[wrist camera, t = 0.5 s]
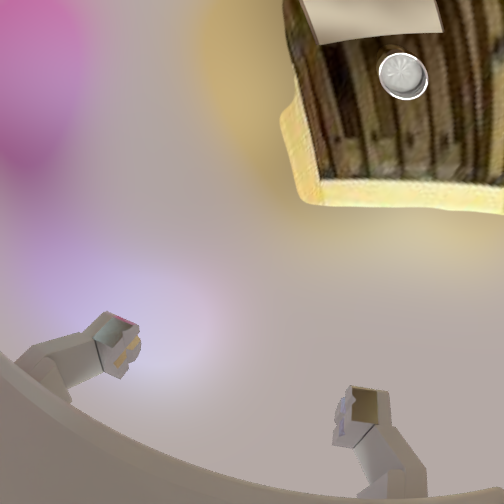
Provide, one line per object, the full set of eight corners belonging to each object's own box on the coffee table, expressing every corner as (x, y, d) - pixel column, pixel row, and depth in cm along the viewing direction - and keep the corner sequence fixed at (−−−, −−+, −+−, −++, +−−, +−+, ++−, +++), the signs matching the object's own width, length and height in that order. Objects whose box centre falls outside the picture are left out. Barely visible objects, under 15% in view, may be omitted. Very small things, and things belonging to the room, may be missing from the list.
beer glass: (419, 55, 35) (438, 70, 26) (402, 86, 41) (414, 111, 31) (383, 34, 35) (390, 40, 26) (367, 66, 41) (368, 84, 31)
